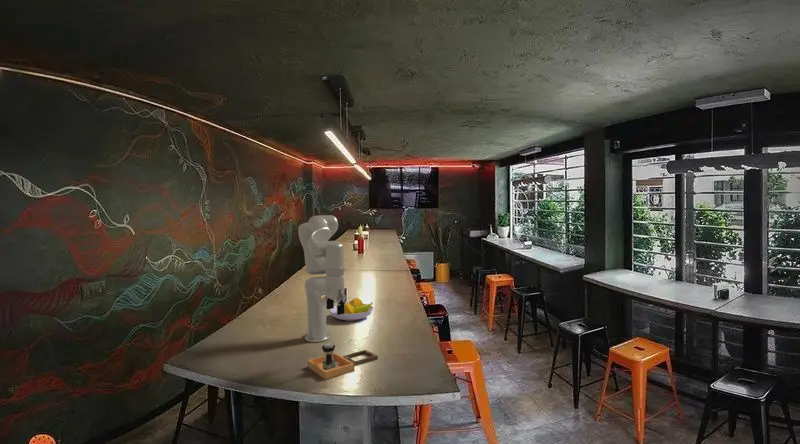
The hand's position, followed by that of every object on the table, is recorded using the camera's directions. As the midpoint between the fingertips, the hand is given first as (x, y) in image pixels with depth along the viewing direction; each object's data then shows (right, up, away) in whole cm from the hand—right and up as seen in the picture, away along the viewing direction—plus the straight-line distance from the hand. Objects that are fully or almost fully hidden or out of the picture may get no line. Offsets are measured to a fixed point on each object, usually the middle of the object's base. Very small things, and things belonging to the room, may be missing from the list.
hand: (335, 311), depth 168 cm
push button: (-1, -22, -6) cm, 23 cm away
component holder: (+10, -22, +4) cm, 25 cm away
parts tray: (-1, -23, -6) cm, 23 cm away
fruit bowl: (-1, -20, +69) cm, 72 cm away
